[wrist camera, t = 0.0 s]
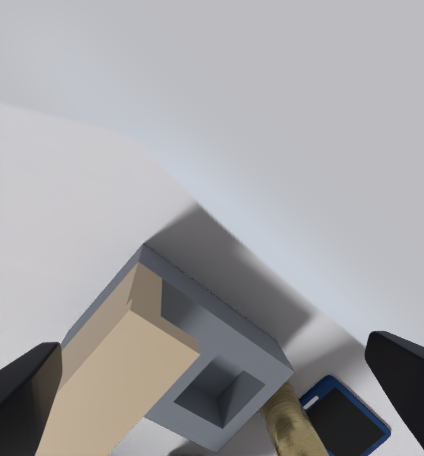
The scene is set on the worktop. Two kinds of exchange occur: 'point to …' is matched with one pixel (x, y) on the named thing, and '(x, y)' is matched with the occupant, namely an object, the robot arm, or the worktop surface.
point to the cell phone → (342, 420)
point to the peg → (290, 425)
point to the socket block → (159, 364)
